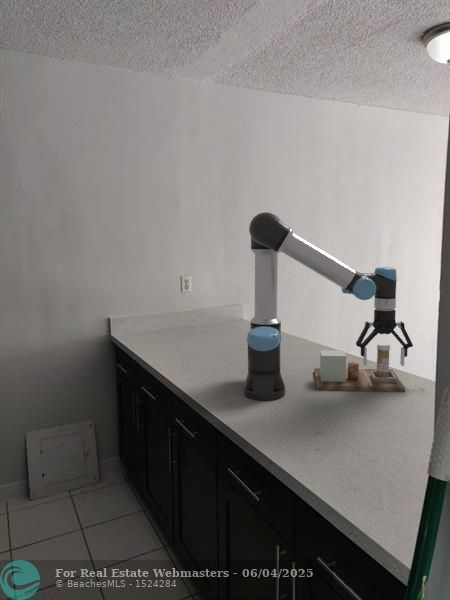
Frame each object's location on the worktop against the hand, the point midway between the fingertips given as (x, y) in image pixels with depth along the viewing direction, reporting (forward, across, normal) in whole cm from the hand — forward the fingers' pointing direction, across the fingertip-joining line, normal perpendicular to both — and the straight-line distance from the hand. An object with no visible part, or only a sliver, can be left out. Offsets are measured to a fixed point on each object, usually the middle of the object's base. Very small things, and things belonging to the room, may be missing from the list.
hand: (383, 364), depth 179 cm
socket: (+6, 0, 0) cm, 6 cm away
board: (+7, -10, +2) cm, 12 cm away
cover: (+6, -19, 0) cm, 20 cm away
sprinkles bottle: (+6, 0, 0) cm, 6 cm away
